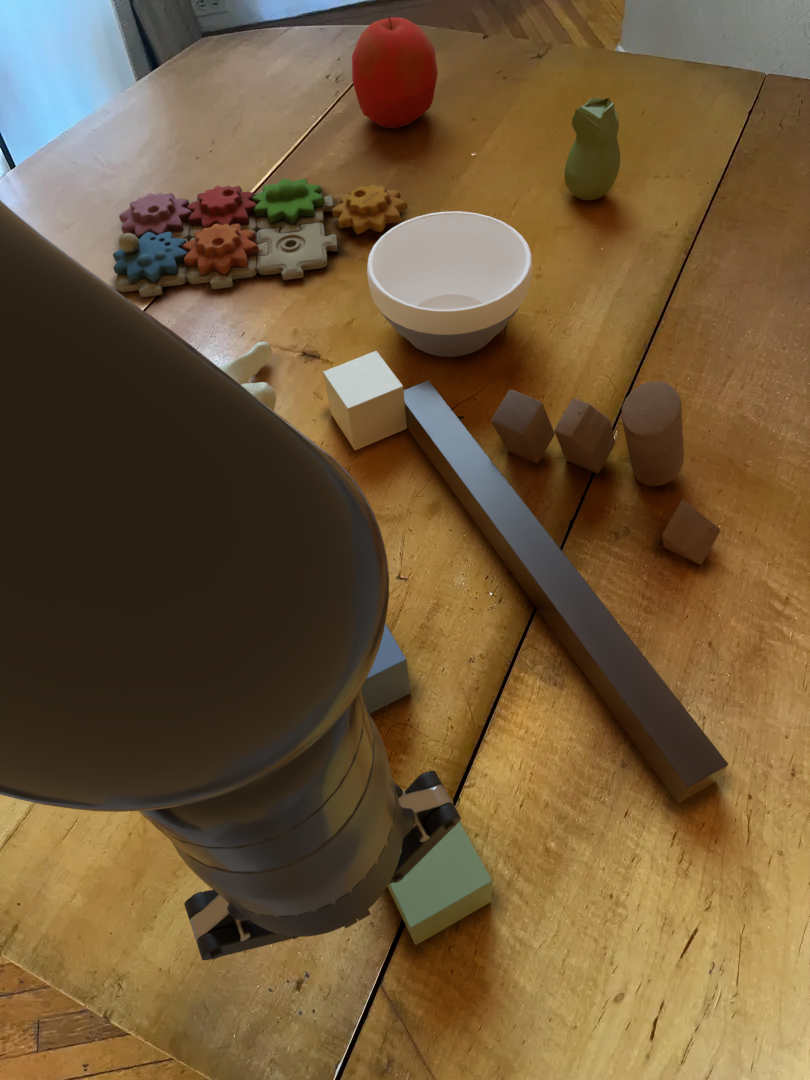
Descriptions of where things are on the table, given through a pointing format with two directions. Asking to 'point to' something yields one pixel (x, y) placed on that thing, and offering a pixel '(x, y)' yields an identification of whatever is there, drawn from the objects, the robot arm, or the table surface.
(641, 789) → the table surface
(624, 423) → the wooden block set
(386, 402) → the cream block
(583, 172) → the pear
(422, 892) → the green block
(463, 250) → the bowl
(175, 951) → the table surface
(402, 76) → the apple
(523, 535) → the straightedge
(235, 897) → the robot arm
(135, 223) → the gear puzzle
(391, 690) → the blue block
